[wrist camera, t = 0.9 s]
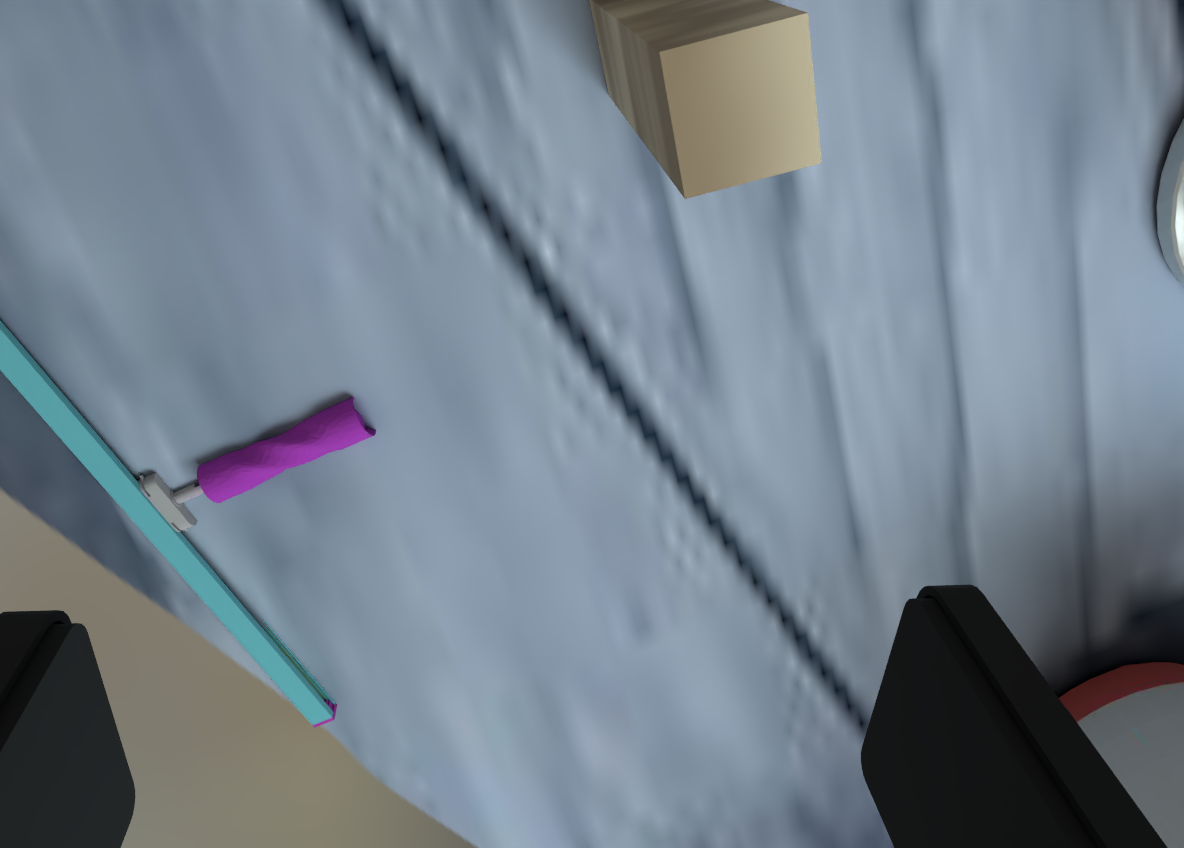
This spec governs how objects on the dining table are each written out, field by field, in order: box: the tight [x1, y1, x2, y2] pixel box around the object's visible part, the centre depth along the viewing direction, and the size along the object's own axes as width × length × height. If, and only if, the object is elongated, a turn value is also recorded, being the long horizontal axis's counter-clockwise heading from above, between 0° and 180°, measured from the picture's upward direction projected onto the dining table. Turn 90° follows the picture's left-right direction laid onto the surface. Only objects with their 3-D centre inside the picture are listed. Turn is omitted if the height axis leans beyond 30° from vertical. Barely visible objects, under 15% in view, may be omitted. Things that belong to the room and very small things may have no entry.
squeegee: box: [0, 320, 376, 727], centre depth 34 cm, size 29×2×10 cm
